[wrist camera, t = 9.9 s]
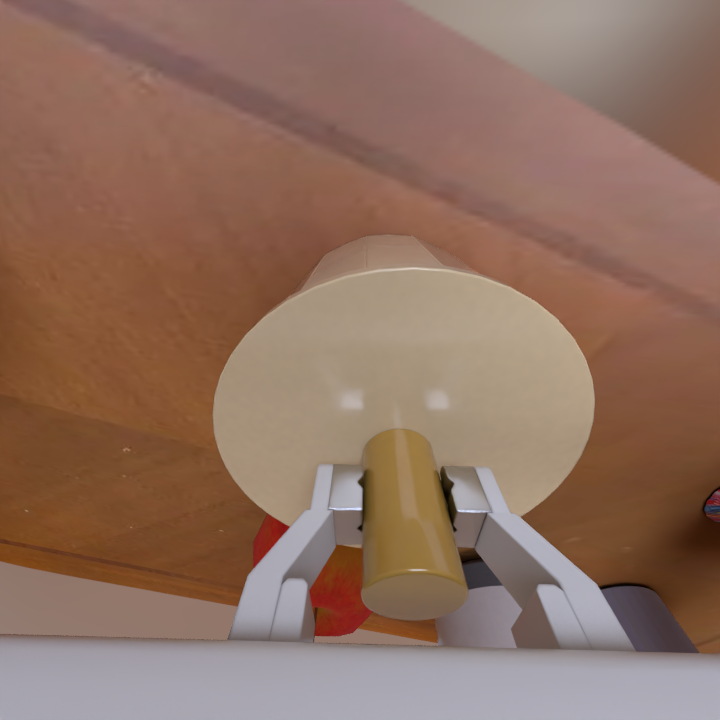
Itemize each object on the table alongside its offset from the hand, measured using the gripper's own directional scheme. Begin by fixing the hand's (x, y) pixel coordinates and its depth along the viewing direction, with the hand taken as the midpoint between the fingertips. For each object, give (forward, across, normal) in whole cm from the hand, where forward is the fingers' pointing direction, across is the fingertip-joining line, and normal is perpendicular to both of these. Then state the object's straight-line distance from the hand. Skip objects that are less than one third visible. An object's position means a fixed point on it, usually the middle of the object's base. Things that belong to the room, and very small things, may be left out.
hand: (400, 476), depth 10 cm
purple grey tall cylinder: (+11, -31, +38) cm, 50 cm away
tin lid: (+2, 0, 0) cm, 2 cm away
